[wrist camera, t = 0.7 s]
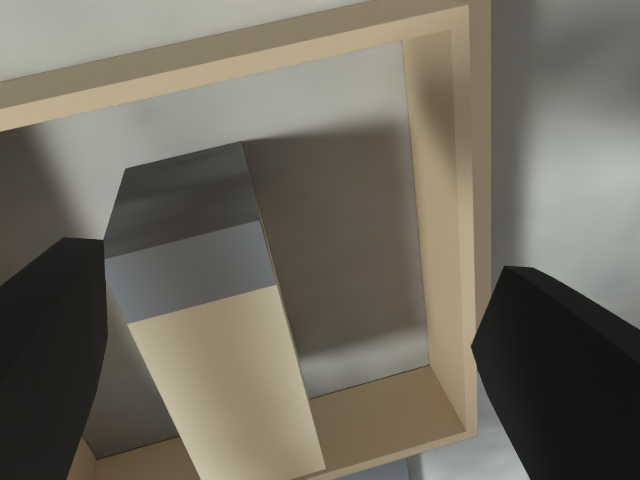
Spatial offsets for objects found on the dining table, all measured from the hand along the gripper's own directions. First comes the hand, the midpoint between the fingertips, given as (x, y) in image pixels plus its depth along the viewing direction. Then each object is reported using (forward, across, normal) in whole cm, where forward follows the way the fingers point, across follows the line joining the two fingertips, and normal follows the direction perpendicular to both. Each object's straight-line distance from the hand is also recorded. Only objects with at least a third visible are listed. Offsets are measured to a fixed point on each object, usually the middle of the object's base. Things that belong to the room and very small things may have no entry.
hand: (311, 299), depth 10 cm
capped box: (+10, +1, +6) cm, 12 cm away
